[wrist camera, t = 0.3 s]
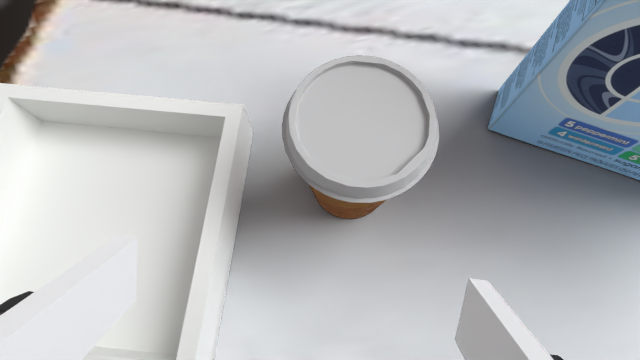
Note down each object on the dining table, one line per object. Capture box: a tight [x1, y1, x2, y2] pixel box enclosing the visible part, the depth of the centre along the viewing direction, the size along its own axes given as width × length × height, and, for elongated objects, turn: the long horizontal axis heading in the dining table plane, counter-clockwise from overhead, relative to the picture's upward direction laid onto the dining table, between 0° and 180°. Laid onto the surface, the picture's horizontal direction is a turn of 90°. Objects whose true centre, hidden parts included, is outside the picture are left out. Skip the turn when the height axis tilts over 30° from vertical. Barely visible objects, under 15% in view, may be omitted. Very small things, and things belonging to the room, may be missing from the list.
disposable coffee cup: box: [282, 55, 439, 219], centre depth 28 cm, size 10×10×12 cm
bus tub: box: [0, 83, 254, 360], centre depth 30 cm, size 20×20×5 cm
